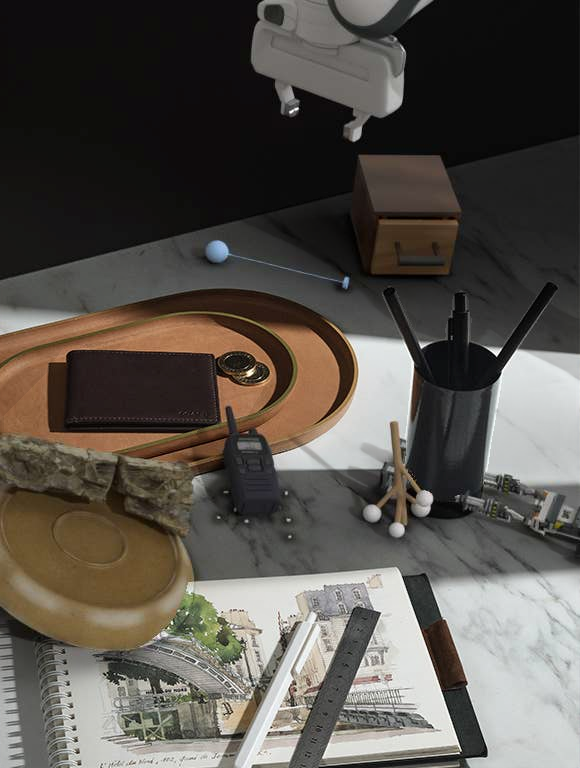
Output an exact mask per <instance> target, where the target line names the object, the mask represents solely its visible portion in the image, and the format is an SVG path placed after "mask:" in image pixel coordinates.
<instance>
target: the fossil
mask: <svg viewBox="0 0 580 768" xmlns="http://www.w3.org/2000/svg"><path fill="white" fill-rule="evenodd" d="M195 477H196V474H195V471H194V470H193V469H192V468H191V466H189V464H188V463H187V461H185V460H181V459H180V460H179V459H178V461H176V462H174V461H164V460H157V459H156V460H155V459H147V458H139V457H135V456H130V455H123V454H120V453H113V452H108V451H98V450H95V449H94V448H90V447H88V448H87V449H85V448H82V447H78V446H72V445H67V444H66V443H64V442H61V441H55V442H54V441H50V440H47V439H41V438H35V437H34V436H33V435H23V434H19V433H1V434H0V480H1V481H2V482H5V483H7V484H8V485H9V486H14V487H20V488H27V489H31V490H34V491H38V492H43V491H44V490H46V491H52V492H60V493H64V494H68V495H71V496H75V497H77V496H80V498H83V499H89V500H92V501H96V502H100V503H104V504H105V501H106V493H107V492H108V490H109V489H110V487H111V488H113V489H114V490H116V491H117V492H119V493H121V494H124V495H126V496H125V500H124V506H125V511H127V512H130V513H132V514H135V515H138V516H141V517H143V518H146V519H148V520H151V521H152V520H155V521H157V522H158V523H159V524H160V525H161V526H162V527H164V528H166V529H168V530H169V531H171V532H173V533H174V534H176V535H178V536H179V537H180V539H186V538H187V537H188V536H189V533H190V530H191V528H190V524H189V522H188V521H189V520H190V516H191V514H190V512H191V511H193V510H192V509H193V506H194V505H195V504H196V500H195V499H194V498H191V496H192V495H193V493H194V492H195V491H194V484H193V480H194V479H195Z"/></svg>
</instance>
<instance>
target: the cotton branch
mask: <svg viewBox="0 0 580 768" xmlns="http://www.w3.org/2000/svg"><path fill="white" fill-rule="evenodd" d="M389 430H390V440H391V451H392V464H393V463H394V464H393V466H394V479H393V484H392V486H390V487H389V488H388V489H387V490H386V494H385V495H384V496H383V497H382V498H381V499H379V501H378V502H377V503H376V504H368V505H366V506H365V507H364V508H363V510H362V511H363V512H362V515H363V518H364V519H365V521H367V522H369V523H376V522H378V521H379V520H380V518H381V516H382V511H381V508H382V507H383V506H384V505H385V504H386V502H387V501H388V500H389V499H391V500H396V508H395V515H394V522H393V523H391V524H390V526H389V528H388V531H389V534H390V535H391V537H393V538H401V537H403V535H404V534H405V526H407V525H408V514H407V513H408V512H407V503H406V500H407V501H408V502H410V503H411V505H410V509H411V513H412V514H413V515H414V516H416V517H418V518H423V517H426V516H427V515H429V514H430V511H431V505H432V504H433V502H434V496H433V493H430V492H429V491H426V490H421V489H420V488H419V486H418V485H417V484H416V482H415V481H416V480H415V481H414V480H413V478H412V477H411V475H410V474H409V473H408V471H407V470H408V469H407V468H406V466H405V464H403V463H402V458H401V448H400V438H401V437H400V428H399V421H397V420H394V421H390V422H389ZM406 469H407V470H406ZM403 474H404V475H405V477H406V478H407V480H408V481H409V482H410V484H411V485H412V487H411V488H413V490H414V491H415V493H416V496H415V498H414V497H413V496H412V495H410V494H409V493H408V492H407V490H406V491H405V488H404V480H403Z"/></svg>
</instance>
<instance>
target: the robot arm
mask: <svg viewBox="0 0 580 768" xmlns="http://www.w3.org/2000/svg"><path fill="white" fill-rule="evenodd" d="M432 2H434V0H262V1H261V2H259V3H258V5H257V17H258V19H259V21H257V23H256V24H255V26H254V31H253V35H252V40H251V41H252V42H251V50H250V51H251V53H250V63H251V65H252V67H253V69H254V71H255V72H256V73H258V74H259V75H263V76H265V77H268V78H270V79H273V80H275V82H274V87H275V90H276V93H277V95H278V97H279V101H280V102H281V105H280V114H281V115H283V116H286V117H288V118H293V117H295V116H297V115H298V114H299V111H300V109H299V106H300V100H299V99H297V98H295V95H294V91H293V88H292V87H295V88H298V89H300V90H303V91H306V92H308V93H312V94H314V95H317V96H319V97H322V98H325V99H327V100H330V101H332V102H334V103H335V102H336V103H338V104H341V105H343V106H346V107H349V108H351V109H352V110H353V111H352V116H353V117H355V119H354V120H350V122H349V123H346V124H344V125H343V130H342V131H343V133H342V138H344V140H348V141H350V142H353V143H355V142H356V141H358V140H360V138H361V136H362V130H363V129H362V128H363V126H364V124H365V123H366V122H367V121H368V119H369V118H370V117H371V116H373V117H375V118H378V119H382V118H385V117H387V116H389V115H390V114H392V113H394V112H395V111H397V110H398V109H399V108H400V107H401V106H402V103H403V98H404V85H405V84H404V83H405V76H404V75H405V71H404V69H405V66H406V65H405V64H406V58H407V53H406V50H405V48H404V46H403V45H402V44H401V43H400V42H399V41H398V38H397V37H396V36H394V35H392V34H394V33H395V32H396V31H398V30H399V29H400V28H401V27H402V26H403V25H405V24H406V22H407V21H408V20H410V18H412V17H413V16H414V15H416V14H417V13H419V12H420V11H421V10H422V9H425V7H427V6H428V5H429V4H431V3H432Z"/></svg>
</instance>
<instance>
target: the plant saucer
mask: <svg viewBox="0 0 580 768" xmlns="http://www.w3.org/2000/svg"><path fill="white" fill-rule="evenodd" d="M125 496H126V495H124V494H121V493H119V492H117V491H116V490H114V489H113V488H111V487H110V489H109V490H108V492H107V493H106V501H105V504H104V503H100V502H96V501H92V500H89V499H83V498H80V496H77V497H75V496H71V495H68V494H64V493H60V492H52V491H46V490H44V491H43V492H38V491H34V490H31V489H27V488H20V487H14V486H9V485H8V484H7V483H5V482H3V481H2V483H0V607H1V608H2V609H3V610H4V611H6V612H7V613H8V614H9V615H10V616H12V617H13V618H15V619H16V620H17V621H19V622H20V623H21V624H24V625H25V626H27V627H29V628H30V629H33V630H34V631H36V632H38V633H40V634H42V635H44V636H46V637H48V638H50V639H52V640H53V639H54V640H56V641H58V642H62V643H64V644H67V645H71V646H75V647H79V648H84V649H90V650H97V651H109V652H110V651H111V652H115V651H130V650H135V649H136V650H137V649H140V648H139V647H140V646H142V645H144V644H146V643H148V642H149V641H150V640H152V638H154V637H155V636H157V635H158V634H159V633H161V632H162V630H163V629H165V628H166V627H167V626H168V625H169V624H170V623H169V622H170V621H172V620H173V618H174V617H175V615H176V613H177V611H178V610H179V608H180V607H181V606H180V604H181V602H182V600H183V598H184V597H183V596H184V595H185V592H186V589H187V585H188V582H190V581H194V582H195V575H194V574H195V573H194V570H193V565H192V561H191V558H190V555H189V553H188V550H187V548H186V547H185V544H184V543H183V541H182V538H181V537H179V536H178V535H176V534H174V533H173V532H171V531H169V530H168V529H166V528H164V527H162V526H161V525H160V524H159V523H158V522H157V521H155V520H152V521H151V520H148V519H146V518H143V517H141V516H138V515H135V514H132V513H130V512H127V511H125V506H124V500H125Z"/></svg>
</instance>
